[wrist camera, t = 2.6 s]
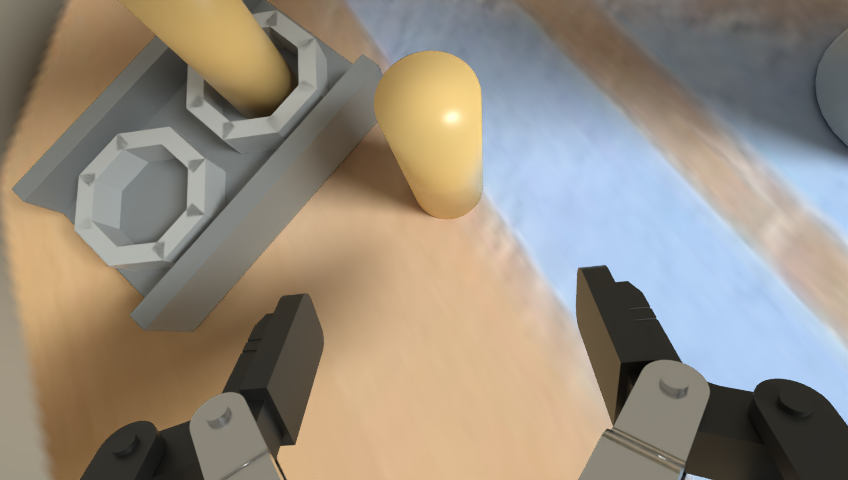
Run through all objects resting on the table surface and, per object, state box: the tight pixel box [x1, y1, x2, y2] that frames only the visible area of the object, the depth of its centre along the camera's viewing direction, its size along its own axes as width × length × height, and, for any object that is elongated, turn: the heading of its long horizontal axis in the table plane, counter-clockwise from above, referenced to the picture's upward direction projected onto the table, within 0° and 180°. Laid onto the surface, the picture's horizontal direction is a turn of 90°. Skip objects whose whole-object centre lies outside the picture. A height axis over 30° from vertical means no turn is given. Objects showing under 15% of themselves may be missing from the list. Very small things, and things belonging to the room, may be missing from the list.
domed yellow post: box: [374, 51, 483, 219], centre depth 22 cm, size 4×4×10 cm
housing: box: [12, 0, 383, 332], centre depth 23 cm, size 18×12×12 cm, turn 140°
